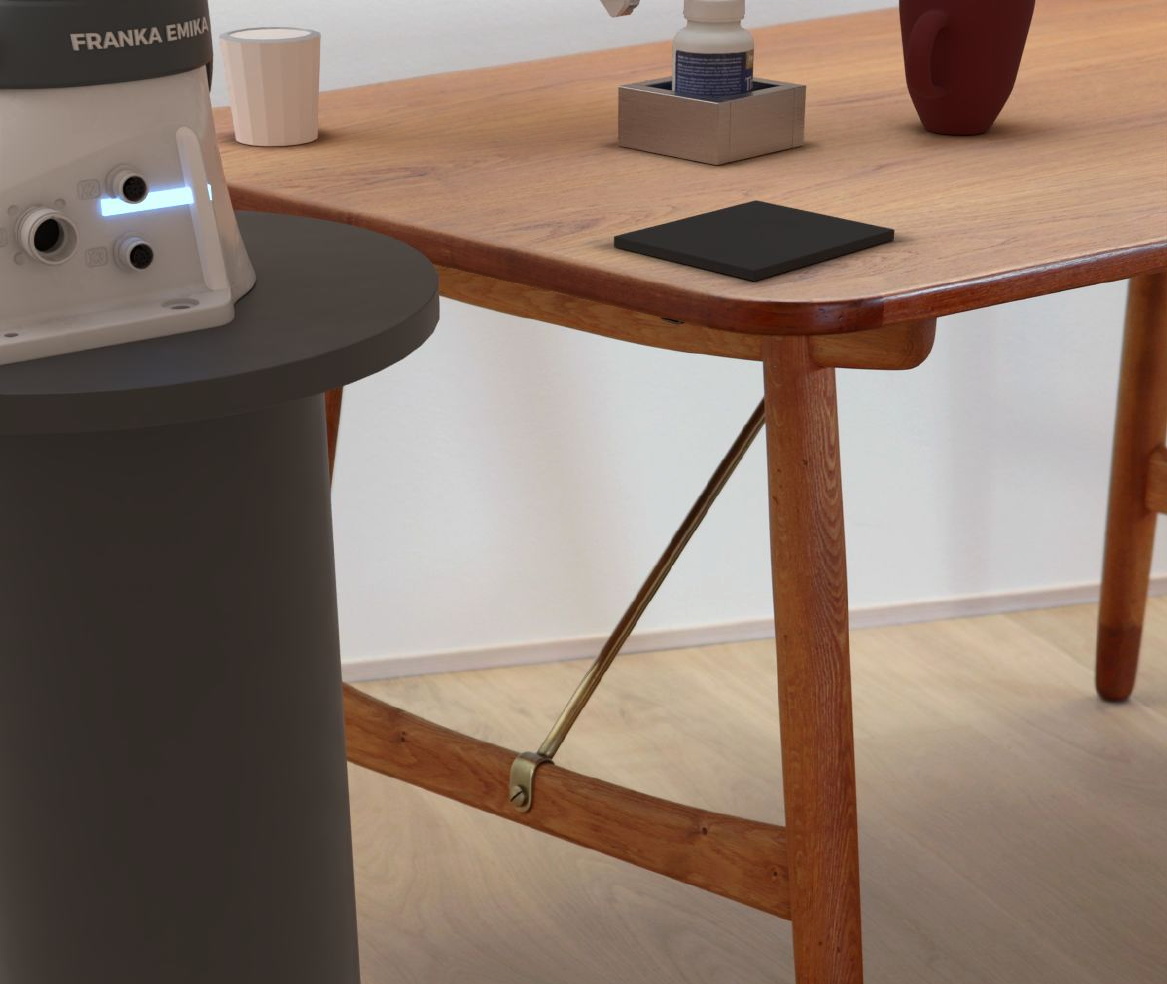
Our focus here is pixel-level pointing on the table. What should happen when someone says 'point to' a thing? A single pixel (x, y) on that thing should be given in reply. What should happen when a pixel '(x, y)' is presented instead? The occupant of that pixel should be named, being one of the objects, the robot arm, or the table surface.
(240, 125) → the beige cup
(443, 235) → the table surface
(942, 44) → the mug
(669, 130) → the box
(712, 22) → the pill bottle
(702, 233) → the mat
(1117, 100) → the table surface
